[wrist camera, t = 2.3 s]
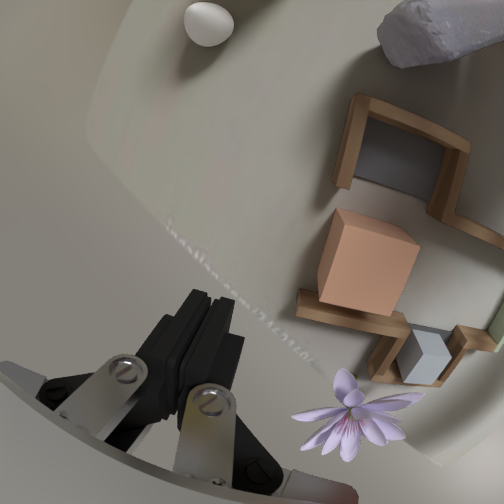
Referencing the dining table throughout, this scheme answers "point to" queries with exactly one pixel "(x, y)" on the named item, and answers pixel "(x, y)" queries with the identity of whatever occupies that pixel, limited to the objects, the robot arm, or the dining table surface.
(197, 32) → the egg
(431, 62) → the stone block
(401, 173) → the mats
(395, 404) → the water lily
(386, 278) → the terracotta block
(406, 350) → the grey block
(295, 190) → the dining table surface
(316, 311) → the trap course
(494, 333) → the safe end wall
